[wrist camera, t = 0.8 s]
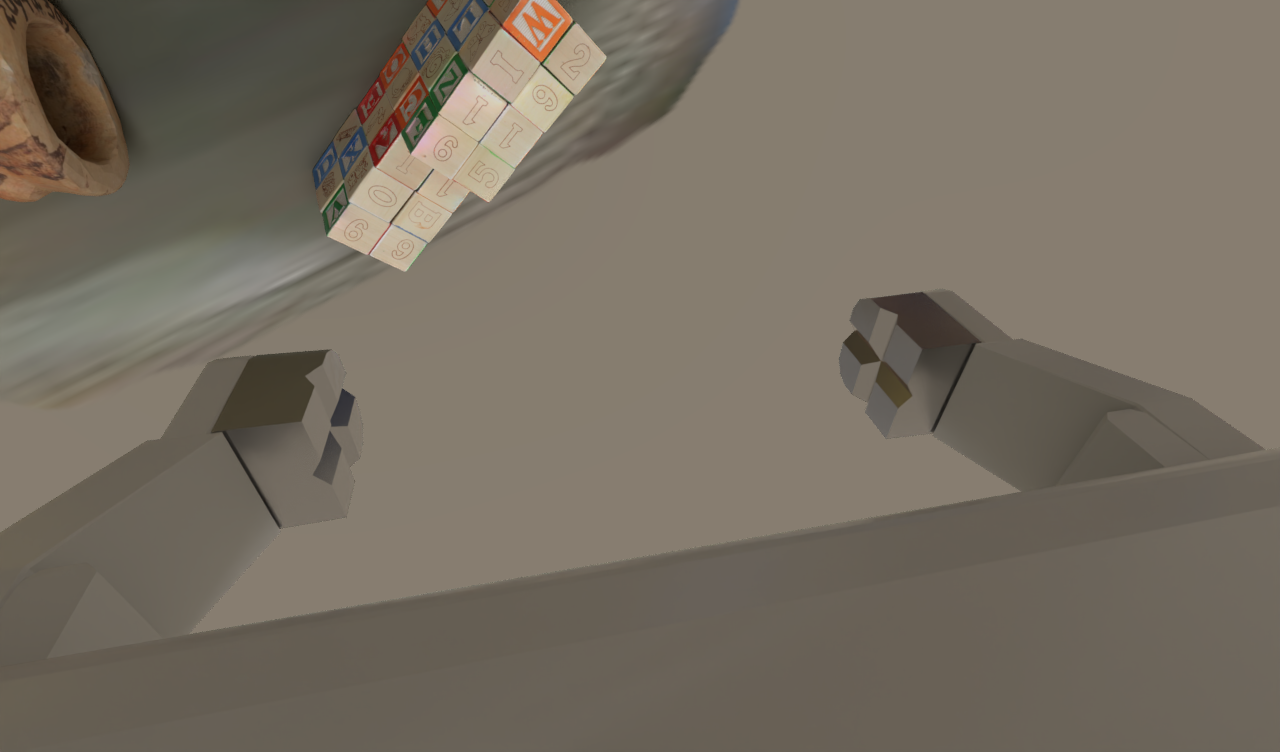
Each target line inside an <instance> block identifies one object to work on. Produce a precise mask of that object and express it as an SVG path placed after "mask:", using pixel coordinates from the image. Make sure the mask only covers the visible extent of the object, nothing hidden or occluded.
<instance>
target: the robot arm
mask: <svg viewBox="0 0 1280 752" xmlns="http://www.w3.org/2000/svg"><path fill="white" fill-rule="evenodd" d="M850 322H851V325H852V327H853V328H854V332H853V333H852V334H851V335H850V336H849V337H848V338H847V339H846V340H845V341H844V342H843V345H842V349H841V353H840V357H839V364H840V374H841V377H842V379H843V382H844V384H845V386H846V387H847V389H848V390H849V391H850V393H851V394H852V395H854V396H856V397H858V398H859V399H862V400H863V401H865V402H867V404H866V410H865V413H866V414H867V415H868V416H869V418H870V419H871V420H872V421H873V423H874V424H875V425H876V427H877V428H878V429H879V430H880V432H881V433H882V434H883V436H884V437H885V438H886V439H889V438H899V437H907V436H914V435H915V436H916V435H924V434H933V436H934V437H935V438H937V439H938V440H940V441H942V442H943V443H945V444H946V445H948V446H950V447H951V448H953V449H954V450H956V451H957V452H959V453H961V454H962V455H964V456H965V457H967V458H969V459H970V460H972V461H974V462H975V463H977V464H978V465H980V466H981V467H983V468H985V469H986V470H988V471H989V472H991V473H993V474H994V475H996V476H997V477H999V478H1001V479H1002V480H1004V481H1006V482H1007V483H1009V484H1010V485H1012V486H1013V487H1015V488H1017V489H1018V490H1020V491H1021V492H1018V493H1012V494H1007V495H1001V496H994V497H989V498H983V499H977V500H971V501H966V502H959V503H954V504H948V505H942V506H936V507H930V508H924V509H919V510H912V511H907V512H901V513H895V514H889V515H883V516H877V517H871V518H865V519H860V520H854V521H848V522H842V523H836V524H830V525H824V526H818V527H812V528H807V529H801V530H795V531H789V532H783V533H778V534H772V535H766V536H760V537H754V538H748V539H742V540H737V541H731V542H725V543H719V544H714V545H707V546H702V547H696V548H690V549H684V550H678V551H672V552H667V553H661V554H655V555H649V556H643V557H637V558H632V559H626V560H620V561H615V562H608V563H603V564H597V565H591V566H585V567H579V568H573V569H567V570H562V571H556V572H550V573H544V574H539V575H533V576H527V577H521V578H515V579H510V580H503V581H497V582H492V583H486V584H480V585H474V586H468V587H462V588H457V589H451V590H445V591H439V592H433V593H427V594H422V595H416V596H410V597H405V598H399V599H393V600H387V601H381V602H375V603H369V604H363V605H358V606H351V607H346V608H340V609H334V610H328V611H323V612H317V613H311V614H305V615H299V616H293V617H287V618H282V619H276V620H270V621H264V622H258V623H252V624H247V625H241V626H235V627H229V628H223V629H217V630H211V631H206V632H200V633H194V634H189V633H190V632H191V631H192V630H193V629H194V628H195V626H196V625H197V624H198V623H199V622H200V621H201V620H202V619H203V618H204V617H205V615H206V614H207V613H208V612H209V611H210V610H211V609H212V608H213V607H214V605H215V604H216V603H217V602H218V601H219V600H220V598H222V597H223V595H224V594H225V593H226V592H227V591H228V590H229V589H230V588H231V586H233V584H234V583H235V582H236V581H237V580H238V579H239V578H240V577H241V576H242V574H243V573H244V572H245V571H246V570H247V569H248V568H249V567H250V566H251V564H252V563H253V562H254V561H255V560H256V559H257V557H259V556H260V554H261V553H262V552H263V551H264V550H265V549H266V548H267V547H268V546H269V544H270V543H271V542H272V541H273V540H274V539H275V538H276V537H277V535H279V533H280V532H281V531H280V529H281V528H287V527H293V526H299V525H305V524H311V523H317V522H322V521H328V520H334V519H340V518H345V517H347V514H348V509H349V505H350V500H351V496H352V492H353V487H354V483H355V480H354V477H353V475H352V472H351V470H350V467H351V466H352V465H353V464H354V463H355V462H356V461H357V460H358V459H360V457H361V451H362V446H363V423H362V418H361V413H360V409H359V406H358V403H357V401H356V398H355V397H354V396H353V395H352V394H350V393H349V392H347V391H345V390H344V389H343V388H342V386H343V383H344V379H345V376H346V371H345V369H344V367H343V364H342V362H341V359H340V357H339V355H338V354H337V353H336V352H335V351H333V350H319V351H305V352H293V353H279V354H267V355H257V356H242V357H232V358H222V359H216V360H213V361H211V362H208V363H207V365H206V366H205V368H204V369H203V371H202V373H201V374H200V376H199V378H198V379H197V381H196V383H195V384H194V386H193V387H192V389H191V390H190V392H189V394H188V395H187V397H186V399H185V400H184V402H183V404H182V405H181V407H180V408H179V410H178V412H177V413H176V415H175V416H174V418H173V420H172V421H171V423H170V424H169V426H168V428H167V429H166V431H165V432H164V434H163V436H162V437H161V439H158V440H150V441H146V442H144V443H142V444H141V445H139V446H138V447H136V448H134V449H133V450H131V451H130V452H128V453H127V454H125V455H123V456H122V457H120V458H118V459H117V460H115V461H114V462H112V463H110V464H109V465H107V466H106V467H104V468H102V469H101V470H99V471H98V472H96V473H94V474H93V475H91V476H90V477H88V478H86V479H85V480H83V481H82V482H80V483H78V484H77V485H75V486H74V487H72V488H70V489H69V490H67V491H66V492H64V493H62V494H61V495H59V496H58V497H56V498H55V499H53V500H51V501H50V502H48V503H47V504H45V505H43V506H42V507H40V508H38V509H37V510H35V511H34V512H32V513H30V514H29V515H27V516H26V517H24V518H22V519H21V520H19V521H18V522H16V523H15V524H13V525H11V526H10V527H8V528H7V529H5V530H4V531H2V532H0V752H1280V448H1275V449H1269V450H1265V449H1264V448H1263V447H1261V446H1260V445H1259V444H1257V443H1256V442H1254V441H1253V440H1251V439H1250V438H1248V437H1247V436H1245V435H1244V434H1242V433H1241V432H1240V431H1238V430H1237V429H1235V428H1234V427H1232V426H1231V425H1229V424H1228V423H1226V422H1225V421H1223V420H1222V419H1221V418H1219V417H1218V416H1216V415H1215V414H1213V413H1212V412H1210V411H1209V410H1208V409H1206V408H1205V407H1203V406H1202V405H1200V404H1199V403H1198V402H1196V401H1195V400H1193V399H1192V398H1189V397H1186V396H1183V395H1180V394H1178V393H1175V392H1172V391H1169V390H1166V389H1163V388H1161V387H1158V386H1155V385H1152V384H1149V383H1146V382H1143V381H1141V380H1138V379H1135V378H1131V377H1129V376H1126V375H1123V374H1120V373H1118V372H1115V371H1112V370H1109V369H1106V368H1104V367H1101V366H1098V365H1095V364H1092V363H1089V362H1086V361H1084V360H1081V359H1078V358H1075V357H1072V356H1069V355H1066V354H1064V353H1061V352H1058V351H1055V350H1052V349H1049V348H1047V347H1044V346H1041V345H1038V344H1035V343H1032V342H1029V341H1027V340H1024V339H1014V340H1013V339H1012V338H1010V337H1009V336H1008V335H1007V334H1005V333H1004V332H1003V331H1002V330H1000V329H999V328H998V327H997V326H995V325H994V324H993V323H992V322H990V321H989V320H988V319H987V318H985V317H984V316H983V315H982V314H980V313H979V312H978V311H977V310H975V309H974V308H973V307H972V306H970V305H969V304H968V303H967V302H965V301H964V300H963V299H961V298H960V297H959V296H958V295H957V294H955V293H954V292H953V291H950V290H946V289H935V290H928V291H920V292H915V293H908V294H900V295H891V296H884V297H874V298H866V299H860V300H859V301H858V302H857V304H856V305H855V307H854V308H853V311H852V315H851V318H850Z"/></svg>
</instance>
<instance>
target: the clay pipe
mask: <svg viewBox="0 0 1280 752" xmlns="http://www.w3.org/2000/svg"><path fill="white" fill-rule="evenodd" d="M129 165H130V164H129V158H128V152H127V145H126V142H125V138H124V135H123V131H122V126H121V122H120V119H119V117H118V114H117V111H116V109H115V106H114V103H113V101H112V99H111V96H110V94H109V91H108V89H107V87H106V84H105V82H104V80H103V78H102V76H101V73H100V71H99V69H98V67H97V65H96V63H95V61H94V59H93V58H92V56H91V54H90V52H89V50H88V48H87V47H86V45H85V44H84V43H83V41H82V40H81V38H80V37H79V35H78V34H77V32H76V31H75V30H74V28H73V27H72V26H71V25H70V23H69V22H68V21H67V20H66V19H65V17H64V16H63V15H62V14H61V13H60V11H59V10H58V9H57V8H55V7H54V6H53V5H52V4H51V3H50V2H49V1H48V0H0V198H2V199H5V200H12V201H18V202H32V201H36V200H38V199H40V198H42V197H44V196H46V195H47V194H49V193H51V192H53V191H55V192H67V193H73V194H79V195H84V196H103V195H108V194H111V193H114V192H116V191H117V190H118V189H120V188H121V187H122V184H123V183H124V182H125V180H126V177H127V173H128V169H129Z"/></svg>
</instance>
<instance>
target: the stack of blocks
mask: <svg viewBox="0 0 1280 752" xmlns="http://www.w3.org/2000/svg"><path fill="white" fill-rule="evenodd" d="M606 58H607V57H606V55H605V54H604V53H603V52H602V51H601V50H600V49H599V48H598V47H597V45H596V44H595V43H594V42H593V41H592V40H591V39H590V37H589V36H588V35H587V34H586V33H585V32H584V31H583V29H582V28H581V27H580V26H579V25H578V24H577V23H576V22H575V21H574V20H573V19H572V18H571V16H570V15H569V14H568V13H567V12H566V11H565V9H564V8H563V7H562V6H561V5H560V4H559V3H558V2H557V0H428V2H427V4H426V5H425V6H424V7H423V9H422V10H421V12H420V13H419V14H418V16H417V17H416V18H415V20H414V21H413V23H412V24H411V26H410V27H409V29H408V30H407V32H406V33H405V34H404V36H403V38H402V42H401V44H400V45H399V46H398V48H397V49H396V51H395V52H394V54H393V56H392V57H391V58H390V59H389V61H388V62H387V64H386V65H385V67H384V68H383V70H382V71H381V72H380V75H379V77H378V78H377V80H376V81H375V83H374V84H373V85H372V87H371V88H370V90H369V91H368V93H367V94H366V96H365V97H364V98H363V100H362V102H361V103H360V104H359V106H358V108H357V109H354V110H353V111H352V113H351V114H350V116H349V117H348V119H347V120H346V121H345V123H344V124H343V126H342V127H341V129H340V130H339V131H338V133H337V134H336V136H335V138H334V139H333V142H332V143H331V144H330V145H329V147H328V148H327V150H326V151H325V152H324V154H323V155H322V157H321V158H320V160H319V161H318V163H317V164H316V166H315V167H314V169H313V176H314V182H315V187H316V190H317V191H316V194H317V200H318V205H319V210H320V212H321V213H322V217H323V221H324V227H325V231H326V235H327V236H328V237H330V238H332V239H334V240H336V241H338V242H341V243H343V244H345V245H347V246H349V247H351V248H353V249H355V250H358V251H360V252H362V253H364V254H369V255H370V256H372V257H374V258H376V259H378V260H380V261H383V262H385V263H387V264H389V265H392V266H393V267H396V268H398V269H400V270H402V271H407V270H408V269H409V267H410V266H411V265H412V264H413V262H414V261H415V260H416V258H417V257H418V256H419V255H420V253H421V252H422V251H423V249H424V248H425V247H426V245H427V243H429V242H430V241H431V240H432V239H433V238H434V236H435V235H436V234H437V233H438V231H439V230H440V229H441V228H442V226H443V225H444V224H445V222H446V221H447V220H448V219H449V218H450V216H451V215H452V213H453V212H454V211H455V210H456V209H457V208H458V206H459V205H460V204H461V203H462V201H463V200H464V199H465V197H466V196H467V195H468V193H469V192H470V191H471V192H473V193H474V194H476V195H477V196H479V197H480V198H482V199H483V200H485V201H487V202H490V201H491V200H492V198H493V197H494V196H495V195H496V193H497V192H498V191H499V190H500V188H501V187H502V186H503V184H504V183H505V182H506V181H507V180H508V178H509V177H510V176H511V175H512V173H513V172H514V171H515V168H516V167H517V165H518V164H519V163H520V162H521V161H522V160H523V158H524V157H525V156H526V155H527V153H528V152H529V151H530V149H531V148H532V147H533V146H534V145H535V143H536V142H537V141H538V139H539V138H540V137H541V135H542V133H545V132H546V131H547V130H548V129H549V127H550V126H551V125H552V124H553V123H554V121H555V120H556V119H557V118H558V116H559V115H560V114H561V113H562V112H563V110H564V109H565V108H566V107H567V105H568V104H569V103H570V102H571V100H572V99H573V97H574V95H576V94H578V93H579V92H580V91H581V89H582V88H583V87H584V86H585V85H586V83H587V82H588V81H589V80H590V79H591V77H592V76H593V75H594V74H595V73H596V71H597V70H598V69H599V68H600V67H601V65H602V64H603V63H604V62H605V60H606Z"/></svg>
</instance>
